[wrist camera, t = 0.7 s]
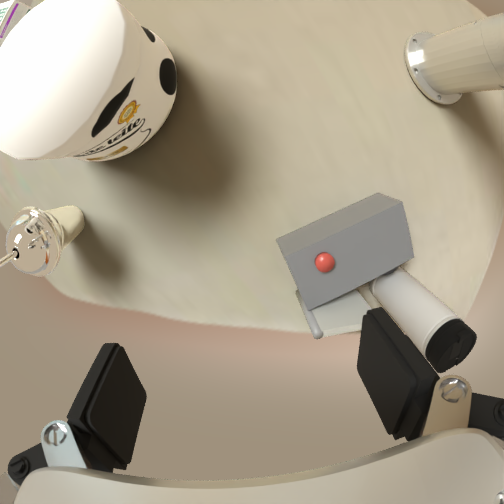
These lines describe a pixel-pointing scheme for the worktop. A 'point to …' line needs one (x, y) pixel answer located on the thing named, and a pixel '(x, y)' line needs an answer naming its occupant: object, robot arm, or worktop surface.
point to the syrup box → (11, 16)
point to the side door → (336, 314)
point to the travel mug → (424, 319)
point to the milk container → (82, 82)
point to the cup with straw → (41, 238)
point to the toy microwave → (347, 248)
